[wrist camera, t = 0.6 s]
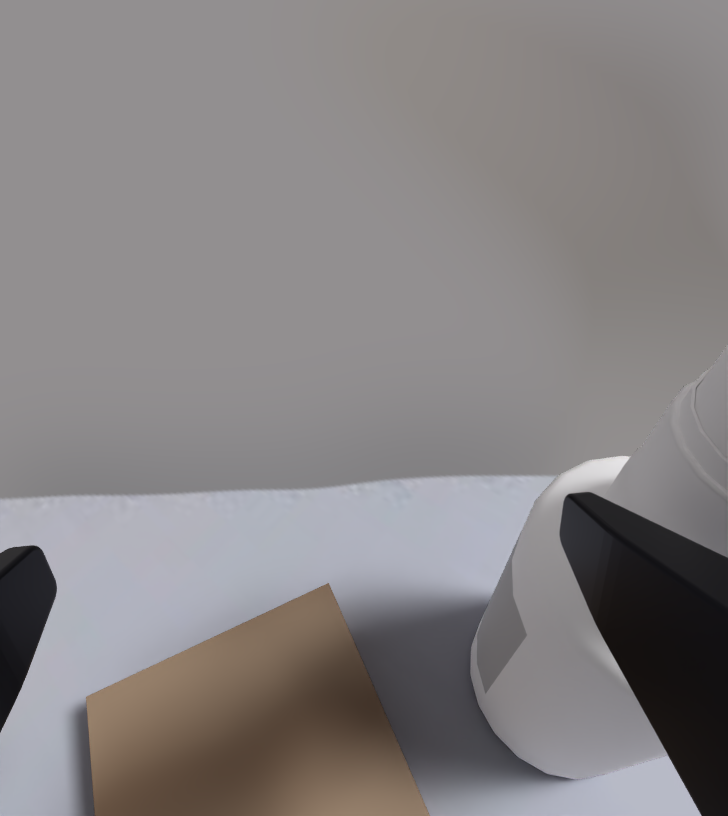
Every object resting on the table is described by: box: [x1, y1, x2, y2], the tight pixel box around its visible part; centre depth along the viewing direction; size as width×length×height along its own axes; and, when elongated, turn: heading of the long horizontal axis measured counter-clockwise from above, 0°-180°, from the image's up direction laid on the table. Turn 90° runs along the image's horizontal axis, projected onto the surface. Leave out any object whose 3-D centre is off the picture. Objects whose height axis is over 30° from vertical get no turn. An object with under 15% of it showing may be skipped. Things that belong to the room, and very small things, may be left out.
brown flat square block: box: [86, 583, 430, 816], centre depth 17 cm, size 10×10×2 cm
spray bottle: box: [470, 344, 728, 780], centre depth 13 cm, size 7×7×18 cm
